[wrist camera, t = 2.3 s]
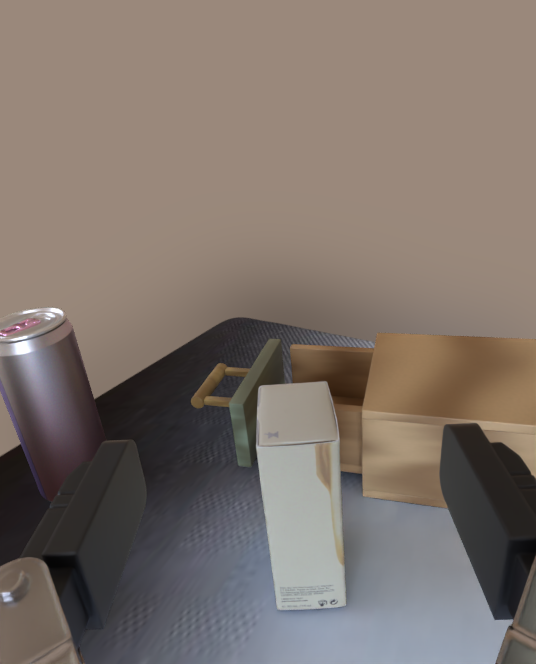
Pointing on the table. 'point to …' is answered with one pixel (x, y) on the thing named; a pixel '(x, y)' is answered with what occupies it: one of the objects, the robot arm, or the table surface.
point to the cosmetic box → (302, 494)
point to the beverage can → (48, 395)
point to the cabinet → (441, 407)
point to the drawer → (307, 366)
